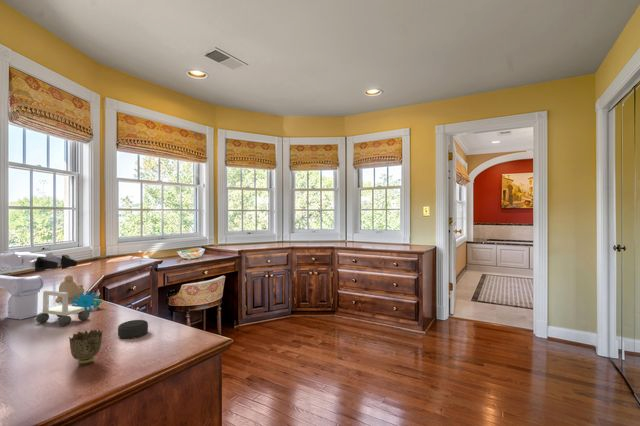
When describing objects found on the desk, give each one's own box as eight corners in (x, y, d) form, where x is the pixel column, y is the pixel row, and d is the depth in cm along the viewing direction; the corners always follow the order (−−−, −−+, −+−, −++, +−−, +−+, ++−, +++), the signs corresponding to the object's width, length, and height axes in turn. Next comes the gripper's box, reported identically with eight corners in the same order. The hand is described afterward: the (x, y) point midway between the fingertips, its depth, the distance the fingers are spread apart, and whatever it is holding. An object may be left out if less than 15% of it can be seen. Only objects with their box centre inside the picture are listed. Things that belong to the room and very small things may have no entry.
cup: (80, 357, 92) (80, 329, 92) (107, 356, 93) (108, 328, 93) (61, 370, 84) (62, 339, 85) (91, 369, 85) (92, 338, 85)
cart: (35, 323, 121) (36, 292, 121) (65, 315, 131) (65, 286, 131) (61, 327, 117) (61, 294, 117) (89, 318, 127) (90, 288, 127)
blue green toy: (68, 310, 132) (74, 289, 139) (68, 318, 135) (73, 297, 142) (100, 310, 138) (104, 290, 144) (99, 318, 141) (103, 298, 148)
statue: (44, 281, 147) (59, 271, 157) (50, 308, 151) (64, 297, 160) (73, 281, 149) (86, 271, 158) (78, 308, 153) (90, 296, 162)
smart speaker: (113, 341, 105) (114, 328, 105) (122, 331, 113) (122, 320, 113) (144, 338, 107) (144, 326, 107) (150, 329, 116) (150, 318, 116)
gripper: (19, 252, 122) (48, 255, 119) (58, 250, 136) (84, 253, 133) (17, 271, 122) (46, 274, 119) (56, 267, 136) (82, 270, 133)
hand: (66, 264), depth 126 cm, fingers open, 7 cm apart
